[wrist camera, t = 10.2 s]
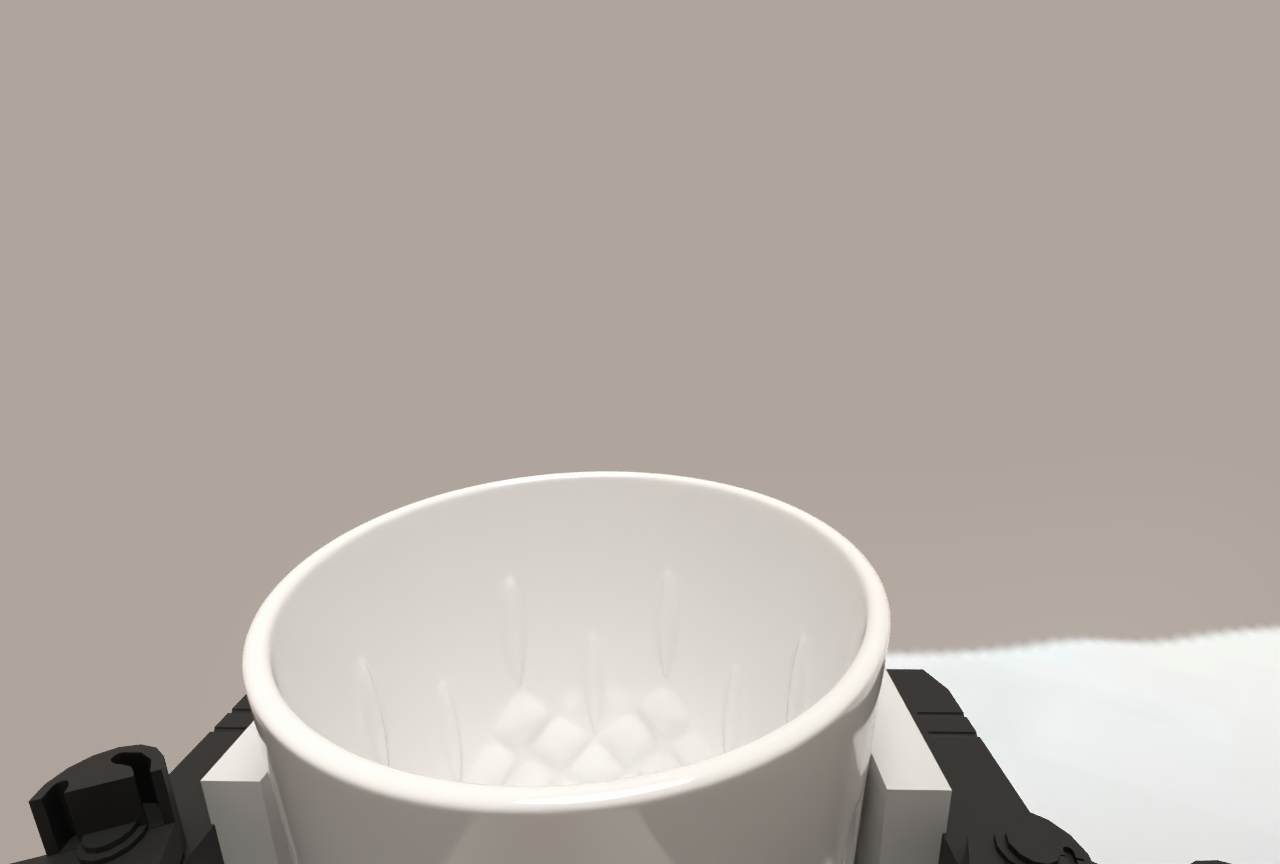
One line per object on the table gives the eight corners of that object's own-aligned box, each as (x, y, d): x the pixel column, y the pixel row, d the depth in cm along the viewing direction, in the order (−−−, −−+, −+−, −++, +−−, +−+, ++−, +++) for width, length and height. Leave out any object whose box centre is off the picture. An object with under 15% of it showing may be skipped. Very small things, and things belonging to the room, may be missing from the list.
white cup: (298, 1058, 11) (186, 559, 9) (625, 809, 16) (615, 446, 14) (537, 1831, 6) (423, 1080, 3) (922, 1089, 11) (1001, 566, 8)
